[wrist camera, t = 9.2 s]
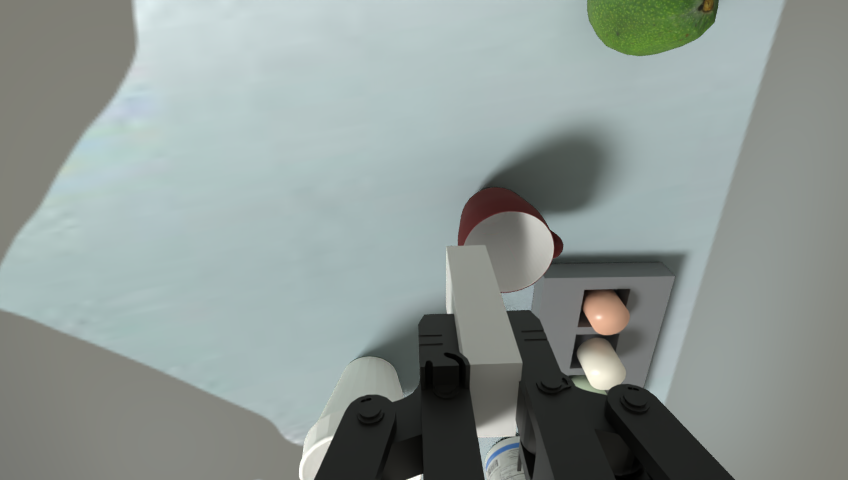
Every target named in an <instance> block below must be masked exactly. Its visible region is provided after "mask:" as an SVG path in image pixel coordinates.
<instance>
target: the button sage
mask: <svg viewBox="0 0 848 480" xmlns="http://www.w3.org/2000/svg"><path fill="white" fill-rule="evenodd" d="M568 377H570V378H571V380H572V381H573V382H574V384H575V386H577V387H579V388H581V389H584V390H587V391H591V392H596V393H600V394H605V395H607V394H606V392H605V390H599V389H596V388H594V387H592V386H591V384H590V382H589V380H588V378H587V376H586V375H568Z"/></svg>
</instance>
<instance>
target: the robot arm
mask: <svg viewBox="0 0 848 480" xmlns="http://www.w3.org/2000/svg"><path fill="white" fill-rule="evenodd" d="M446 308H447V314H430V315H424V316H423V318H422V319H421V321H420V323H419V324H418V329H419V363H420V383H419V385H418V387H417V389H416V390H415V391H414V392H413V393H412V394H410V395H409V396H407V397H405V398H403V399H400V400H397V401H394V402H392V401H390V400H389V399H388V398H387V397H384V396H381V395H378V394H375V395H365V396H362V397H359V398H357V399H356V400H354V401H353V402H351V403H350V405H349V406H348V407H347V409H346V410H345V412H344V415H343V417H342V419H341V421H340V423H339V426H338V428H337V430H336V432H335V434H334V437H333V439H332V441H331V443H330V445H329V447H328V450H327V452H326V454H325V456H324V458H323V461H322V463H321V465H320V467H319V469H318V472H317V474H316V476H315V478H314V480H408V479H410V478H413V477H416V476H418V475H421V474H423V480H485V479H484V473H483V467H482V461H481V455H480V449H479V442H478V438H484V437H510V436H515V434H516V424H517V428H518V432H519V435H520V441H519V451H518V460H517V471H521V468H522V467H523V471H524V475H525V479H526V480H735V479H734V478H733V477H732V476H731V475H730V474H729V473H728V472H727V471H726V470H725V469H724V468H723V467H722V466H721V465H720V464H719V462H718V461H717V460H716V459H715V458H714V457H712V455H711V454H710V453H709V452H708V451H707V450H706V449H705V448H704V447H703V446H702V445H701V444H700V443H699V441H697V439H696V438H695V437H694V436H693V435H692V434H691V433H690V432H689V431H688V430H687V429H686V428H685V427H684V426H683V425H682V424H681V423H680V422H679V420H677V418H676V417H675V416H674V415H673V414H672V413H671V412H670V411H669V410H668V409H667V408H666V407H665V406H664V405H663V404H662V403H661V402H660V401H659V400H658V398H657V397H656V396H654V395H653V394H652V393H650V392H649V391H648V390H646V389H644V388H642V387H639V386H636V385H631V384H618V385H616V386H614V387H612V388H611V389H610V390H609V392H608V393H607V395H605V394H600V393H596V392H591V391H587V390H584V389H581V388H579V387H577V386H575V384H574V382H573V381H572V380H571V378H570V377H568V376H567V375H566V374H564V373H563V372H561V370H560V368H559V365H558V363H557V360H556V358H555V355H554V353H553V351H552V348H551V346H550V343H549V341H548V338H547V336H546V334H545V332H544V329H543V326H542V324H541V321H540V319H539V318H538V317H537V316H535V315H534V314H533V313H532V312H531V311H530V310H519V311H506V309H505V305H504V302H503V299H502V296H501V293H500V290H499V287H498V283H497V280H496V277H495V274H494V271H493V268H492V264H491V261H490V258H489V255H488V252H487V249H486V245H470V246H446Z"/></svg>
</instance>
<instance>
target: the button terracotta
mask: <svg viewBox="0 0 848 480" xmlns="http://www.w3.org/2000/svg"><path fill="white" fill-rule="evenodd" d="M581 308H582V309H583V311H584V313H585V315H586V317H587V318H588V320H589V322H590V324H591V325H592V327H593V329H594V330H595V331H596V332H597V333H599V334H602V335H612V334H616V333H618V332H620V331H621V330H623V329H624V328H625V327H626V326H627V324H628V322H629V319H630V314H629V311H628V310H627V308H626V307H625V306H624V304H623V303H622V301H621V300H620V298H619V297H618V296H617V294H616V293H615V291H614V290H613V289H592V290H584V295H583V300H582V305H581Z"/></svg>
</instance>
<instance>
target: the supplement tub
mask: <svg viewBox="0 0 848 480" xmlns="http://www.w3.org/2000/svg"><path fill="white" fill-rule="evenodd" d="M519 441H520V436H515V437H510V438H507V439H504V440H502V441H500V442H498V443H497V444H496V445H494V446H493V447H492V448H491V449H490V451H489V452H488V454H487V456H486V460H485V469H486V475H487V480H526V479H525V475H524V471H523V467H522V468H521V471H517V460H518V451H519Z"/></svg>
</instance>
